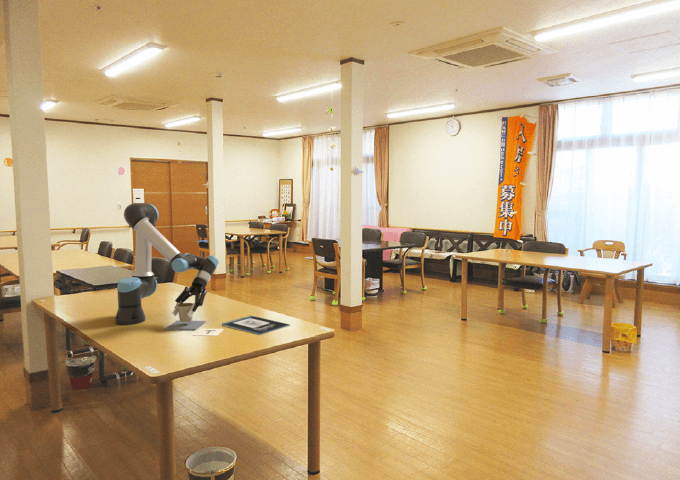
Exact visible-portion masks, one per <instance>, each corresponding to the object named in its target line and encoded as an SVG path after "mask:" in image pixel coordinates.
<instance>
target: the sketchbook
mask: <svg viewBox="0 0 680 480" xmlns="http://www.w3.org/2000/svg"><path fill="white" fill-rule="evenodd" d="M221 326H223V327H226V328H230V329H233V330H234V329H235V330H238V331H242V332H246V333H249V334H250V333H251V334H255V335H259V336H262V335H265V334H269V333H271V332H274V331H277V330H280V329H283V328H288V327H289V326H291V325H290V323H286V322H280V321H277V320H272V319H267V318H263V317H259V316H255V315H247V316H243V317H240V318H235V319H232V320H229V321H224V322H221Z"/></svg>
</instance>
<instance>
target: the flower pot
mask: <svg viewBox="0 0 680 480" xmlns="http://www.w3.org/2000/svg"><path fill="white" fill-rule="evenodd" d="M194 303H195V302H183V303H181V304H177V303H176V304H177V305H176V304H175V306H176V307H177V309H178V313H177V314H178V318H179V319H178V320H180V322H189V321H193V315H194V314H193V315H192V317H191V318H190V317H189V316H188V315H187V314H188V312H189V311H190V309H191V307H192V305H193V304H194ZM194 305H195V304H194Z"/></svg>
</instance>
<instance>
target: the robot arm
mask: <svg viewBox="0 0 680 480" xmlns="http://www.w3.org/2000/svg"><path fill="white" fill-rule="evenodd" d="M159 216H160V213H159V210H158V209H157V207H156V206H155V205H153V204H151V203H147V202H145V203H144V202H143V203H137V202H135V203H130V204H128V205H127V206H126V207H125V209H124V211H123V218H124V220H125V222H126V223H127V224H128V226H130V228H131V229H132V230H133V231H135V259H134V260H135V261H134V262H135V263H134V264H135V265H134V269H135V270H134V272H133V273H132V275H131V277H126V278H123V279H120V280H118V282H117V288H116V289H117V306H118V308H117V311H116V314H115V318H114V321H115V324H116V323H117V324H116V325H121V324H127V325H136V324H139V323H143V322H145V321H146V314H145V312H144V309H143V306H142V299H144V298H148V297H150V296H152V295H153V294H155V292H156V291H157V289H158V280H157V279H156V278H155V273H154V272H153V271H152V260H153V259H152V258H153V257H152V250H153V248H152V247H154V248H155V249H156V251H158V252H159V253H160V254H161V255H162V256H163V257H164V258H165V259H166V260H167V262H169V263H170V264H171V269H172V270H173V271H174V272H175V273H185V272H186V271H189V270H196V271H198V272H197V274H196V275H195V277H194V279H192V283H191V286H190V287H188V286H185V287H184V289H183V291H182V292H180V294H179V295H178V296H177V298H176V299H175V300H174V301H175V302H176V304H175V306H174V309H173V310H172V312H171V313H172V315H174V316H175V317H176V316H177V315H178V314H179V313H178V309H177V307H176V305H177V304H181V303H186V301H187V300H188V299H189V298H190V297H193V296H194V302H193V303H194V304H195V305H194V304H193V305H192V307H191V309H190V311H189V312H188V314H187V315H188V316H189V317H190V318H191V317H192V318H193V316H192V315H194V313H196V311H197V310H198V308H199V307H202V306H203V304H204V301H205V297H206V295H207V294H208V290H207V289H206V287H207V285H208V283H209V281H210V280H211V278H212V276H213V274H214V272H215V271H216V269H217V267H218V265H219V261H220V260H219V259H218V258H217V257H215V256H214V255H208V256H206V257H201V256H199V255H195V254H193V253H188V252H186V253H184V254H183V253H181V251H179V250H178V249H177V247H176V246H175V245H174V244H173V243H172V242H170V241H169V240H168V239H167V238H166V236H164V235H163V234H162V233H161V232H160V231H159V230H158V228H156V222H157V221H158V220H159Z"/></svg>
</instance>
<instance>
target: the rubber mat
mask: <svg viewBox="0 0 680 480" xmlns="http://www.w3.org/2000/svg"><path fill="white" fill-rule="evenodd" d="M206 323H207V322H206V320H192V321H189V322H180V319H178V320H177V319H176V320H175V321H174V322H172V323H171V324H169V325H168V326H166V327H165V328H164V331H197V330H198V329H199V328H201V327H202V326H203V325H204V324H206Z"/></svg>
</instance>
